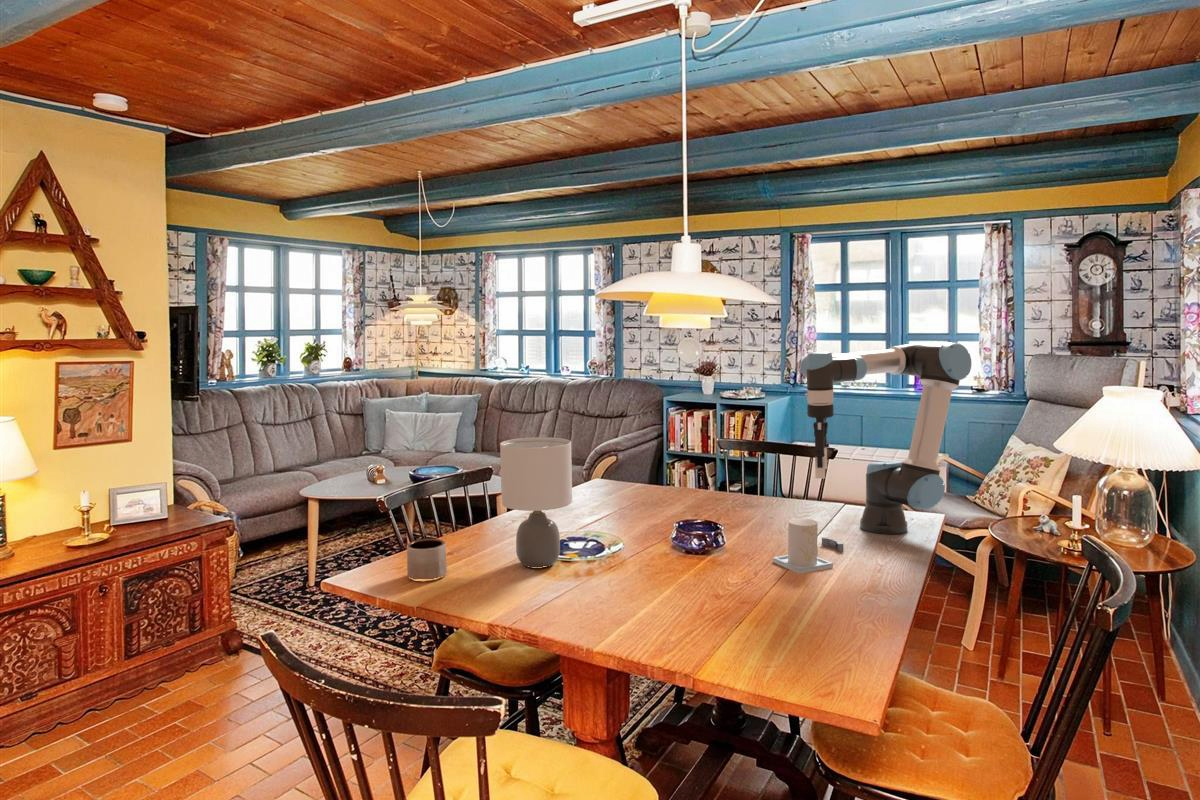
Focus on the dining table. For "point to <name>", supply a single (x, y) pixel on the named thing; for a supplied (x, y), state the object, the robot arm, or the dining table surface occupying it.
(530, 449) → the lamp
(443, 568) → the planter
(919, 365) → the robot arm
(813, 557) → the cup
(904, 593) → the dining table surface
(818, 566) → the tray
